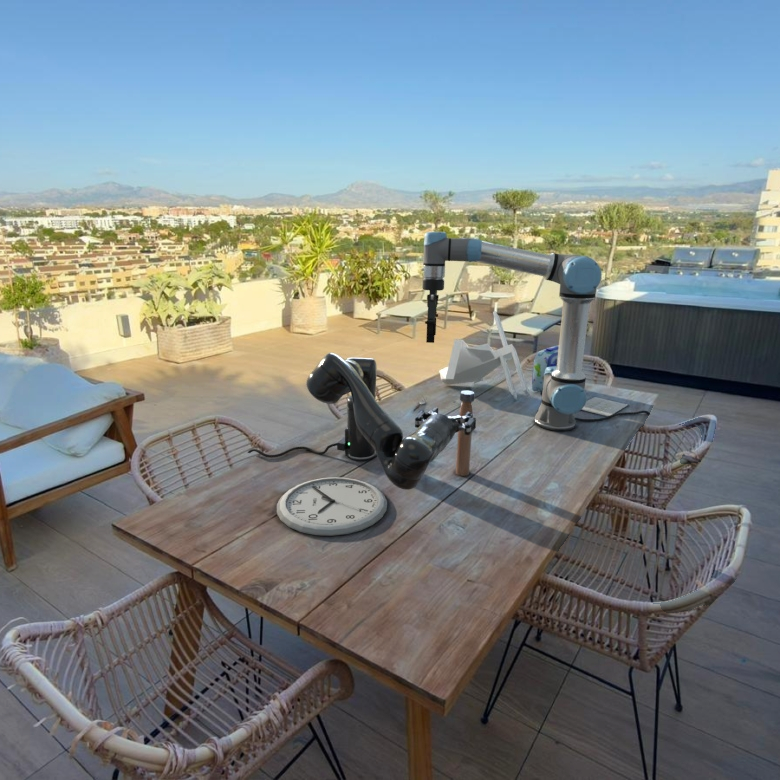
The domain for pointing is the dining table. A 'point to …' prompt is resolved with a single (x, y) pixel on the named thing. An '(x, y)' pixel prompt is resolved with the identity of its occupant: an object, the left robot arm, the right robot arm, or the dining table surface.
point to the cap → (467, 396)
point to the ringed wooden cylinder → (464, 444)
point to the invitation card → (603, 406)
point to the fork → (420, 403)
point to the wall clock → (331, 506)
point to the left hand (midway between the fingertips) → (453, 413)
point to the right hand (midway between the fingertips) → (431, 338)
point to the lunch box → (543, 366)
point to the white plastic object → (482, 362)
